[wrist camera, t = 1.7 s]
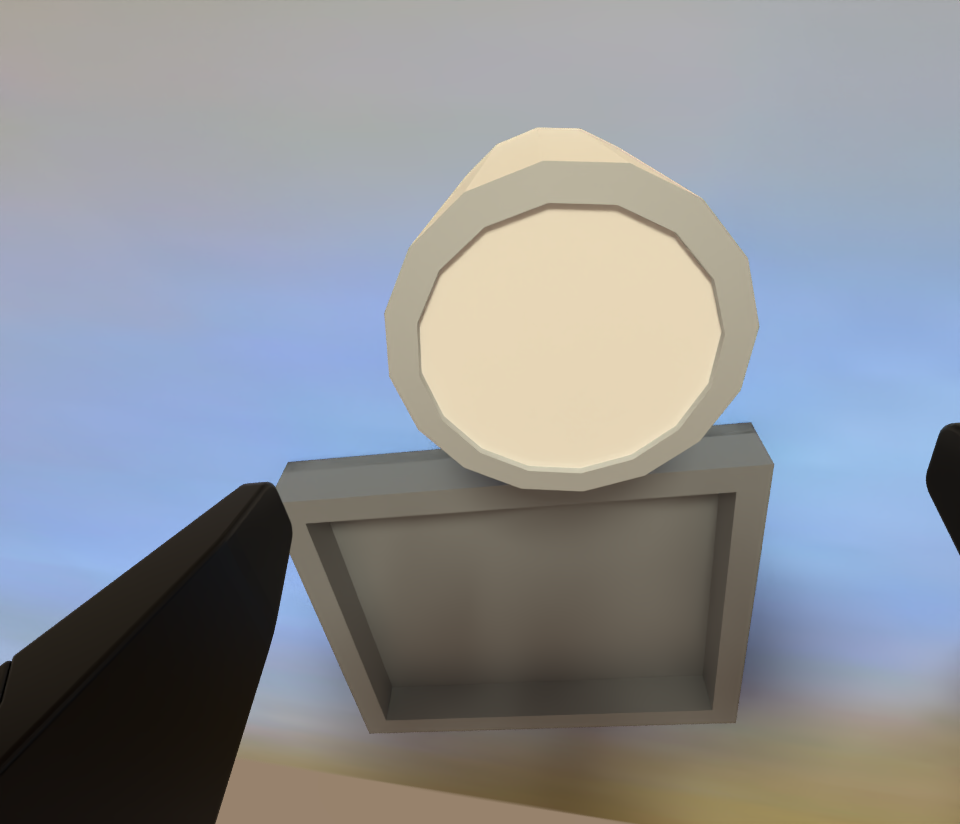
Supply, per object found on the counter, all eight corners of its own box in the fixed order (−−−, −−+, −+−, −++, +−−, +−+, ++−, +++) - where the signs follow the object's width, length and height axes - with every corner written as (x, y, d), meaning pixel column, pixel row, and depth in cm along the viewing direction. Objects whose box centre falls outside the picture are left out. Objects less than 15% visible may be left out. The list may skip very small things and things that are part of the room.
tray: (750, 422, 20) (774, 464, 18) (721, 675, 28) (735, 722, 26) (288, 462, 22) (267, 503, 20) (378, 688, 30) (369, 733, 28)
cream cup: (719, 134, 16) (839, 215, 10) (626, 365, 19) (673, 522, 14) (452, 68, 15) (411, 112, 9) (410, 318, 19) (363, 461, 13)
